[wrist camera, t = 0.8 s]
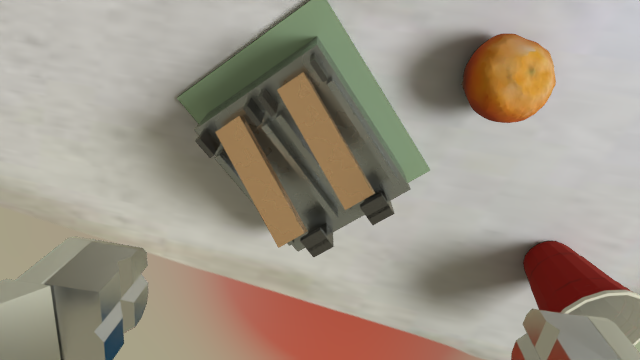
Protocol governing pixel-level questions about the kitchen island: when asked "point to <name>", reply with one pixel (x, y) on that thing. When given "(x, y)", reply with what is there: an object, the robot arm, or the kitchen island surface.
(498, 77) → the fruit
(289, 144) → the grey toaster
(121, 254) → the robot arm
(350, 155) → the strap near
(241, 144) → the strap far
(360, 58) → the board
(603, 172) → the kitchen island surface
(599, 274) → the plastic cup
